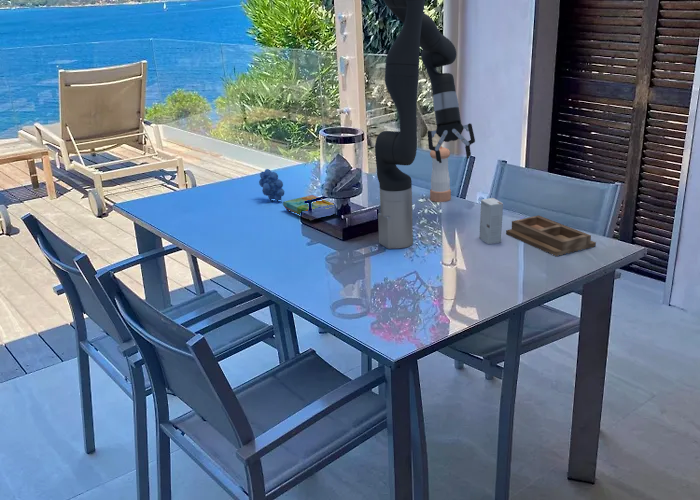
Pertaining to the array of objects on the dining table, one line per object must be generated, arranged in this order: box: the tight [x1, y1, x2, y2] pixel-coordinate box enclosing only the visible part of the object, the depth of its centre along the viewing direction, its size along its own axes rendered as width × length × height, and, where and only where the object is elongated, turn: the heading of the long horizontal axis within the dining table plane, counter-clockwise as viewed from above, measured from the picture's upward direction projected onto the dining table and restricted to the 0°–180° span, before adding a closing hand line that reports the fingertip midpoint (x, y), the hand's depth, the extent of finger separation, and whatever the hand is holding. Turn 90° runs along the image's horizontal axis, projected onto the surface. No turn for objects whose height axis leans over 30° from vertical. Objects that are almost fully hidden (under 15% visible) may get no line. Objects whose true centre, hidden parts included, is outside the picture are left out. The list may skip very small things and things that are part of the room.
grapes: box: [258, 168, 285, 201], centre depth 250 cm, size 12×7×12 cm, turn 53°
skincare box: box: [479, 197, 504, 245], centre depth 199 cm, size 6×4×12 cm
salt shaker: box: [429, 145, 452, 203], centre depth 240 cm, size 7×7×19 cm
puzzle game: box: [282, 194, 335, 215], centre depth 235 cm, size 12×5×20 cm
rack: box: [505, 215, 597, 257], centre depth 198 cm, size 14×22×4 cm, turn 25°
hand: (454, 160), depth 213 cm, fingers open, 8 cm apart
